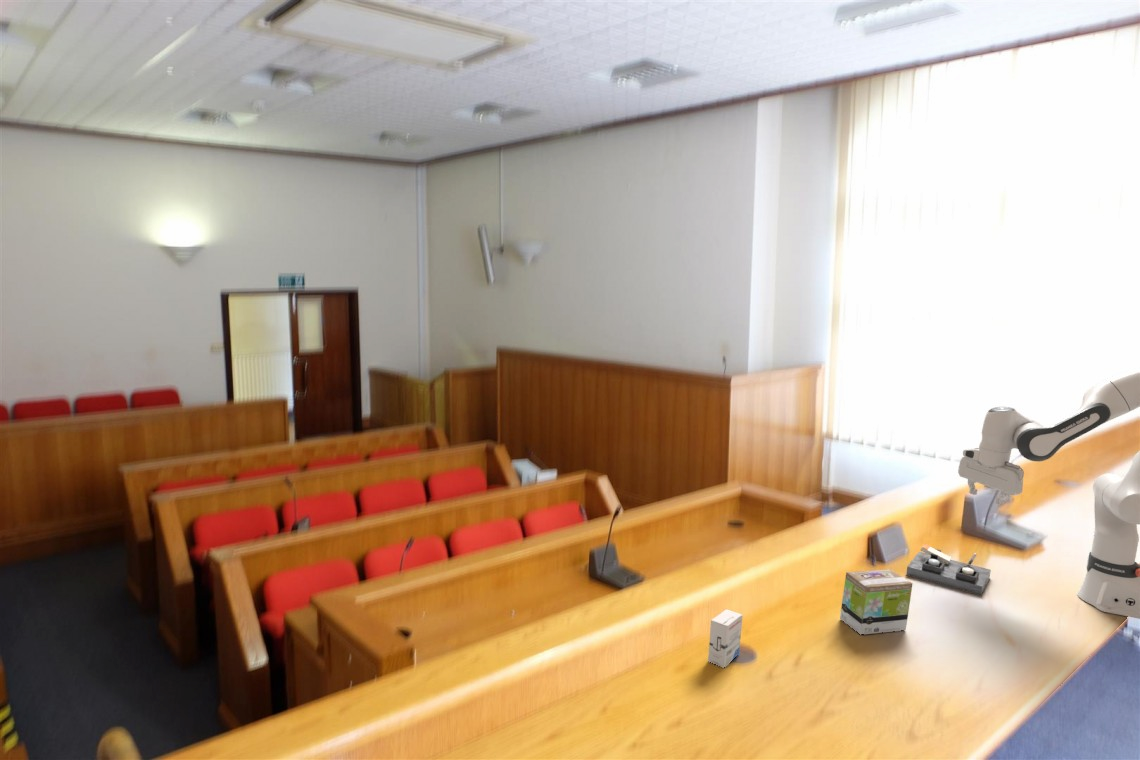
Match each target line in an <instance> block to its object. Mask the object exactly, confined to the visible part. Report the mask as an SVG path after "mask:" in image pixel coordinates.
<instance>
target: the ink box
mask: <svg viewBox="0 0 1140 760" xmlns="http://www.w3.org/2000/svg"><path fill="white" fill-rule="evenodd" d="M743 618H744V617H743V614H741V613H739V612H736V611H733V610H732V609H731V610H730V609H728V608H726V609H724V610H723V611H722V612H721V613H719V614H718V615H716V616H715V617H713V618H712V619H710V630H709V643H708V656H707V657H708V658H707V662H708V663H710V662H711V663H710V664H712V663H713V665H714V664H716V665H715V666H717V665H718V666H717V667H719V666H721V667H723V668H722V669H725V668H727V666H729V665H730V664H729V663H730V662H731V661H732V660H733V659H734V658H735V657H736V656H737V655H738V656H740V646H741V637H742V636H741V635H742V628H743V627H742V626H743ZM738 656H737V657H738ZM737 657H736V658H737ZM736 658H735V659H736ZM735 659H734V660H735ZM734 660H733V661H734ZM733 661H732V662H733ZM721 667H720V668H721ZM724 667H725V668H724Z"/></svg>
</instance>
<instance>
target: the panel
mask: <svg viewBox="0 0 1140 760" xmlns="http://www.w3.org/2000/svg"><path fill="white" fill-rule="evenodd" d="M935 549H936V548H935ZM936 550H938V551H940V552H942V549H938V548H937V549H936ZM929 559H936V560H938V561H939V566H932V565H929V564H928V561H929ZM964 567H966V568H971V569H973V570H974V573H973V575H966V574H963V573H962V568H964ZM991 572H992V571H991V569H989V568H986V567H982V566H981V567H980V566H977V565H973V564H971V566H970V567H968V566H967V563H966V562H965V563H964V562H963V561H962V562H961V561H958V560H953V559H951V560H950V562H949V563H948V564H947V563H945V562H943V561H941V560H939V559H938V555H935V554H931V555H929V554H927V553H925V552H923V551H918V552H917V553H916V555H915V556H914V557H913V559H912V560H911V561H910V562H909V564H908V565H907V566H906V576H908V577H913V578H916V579H919V580H923V581H926V582H930V583H934V584H937V585H940V586H945V587H948V588H952V589H956V590H959V591H963V592H966V593H971V594H974V595H977V596H982V594H983V593H984V590H985V589H986V586H987V584H988V582H989V580H990V578H991Z"/></svg>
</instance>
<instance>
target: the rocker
mask: <svg viewBox="0 0 1140 760" xmlns="http://www.w3.org/2000/svg"><path fill="white" fill-rule="evenodd" d="M938 550H939V549H938ZM938 550H936V548H934V547H931V546H930V545H928V544H926V543H924V544H923V545H922V546H921V549H920V552H922V553H926V554H929V555H931V554H935V555H938V559H939V560H941V561H943V562H945V563H947V564H948V563H949V562H950V560H952V556H950V555H947V554H946V553H943V552H942V551H941V552H940V551H938Z"/></svg>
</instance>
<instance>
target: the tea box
mask: <svg viewBox="0 0 1140 760" xmlns="http://www.w3.org/2000/svg"><path fill="white" fill-rule="evenodd" d="M912 590H913V582H912V581H909V580H908V579H907V578H905V577H903V576H902V575H900V574H899V573H897V572H896V571H895V570H893V569H892V568H885V569H884V568H883V569H872V570H871V569H870V570H859V571H857V570H856V571H846V573H845V578H844V586H843V593H842V599H841V600H842V601H841V607H840V608H841V609H840V614H839V615H840V616H839V619H840V620H841V621H842V622H843V621H844V622H843V623H844V624H846V625H847V624H848V625H849V626H850V627H849V626H848V625H847V626H848V627H849V628H851V629H852V628H853V629H854V630H855V631H854V630H853V629H852V630H853V631H854V632H856V631H857V632H858V633H859V634H860V635H859V634H858V633H857V632H856V633H857V634H858V635H859V636H862V635H861V634H864V635H871V634H881V633H882V632H883V633H892V632H893V631H895V632H902V631H901V630H905V631H906V630H907V624H908V617H909V612H910V611H909V610H910V604H911V596H912Z"/></svg>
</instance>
